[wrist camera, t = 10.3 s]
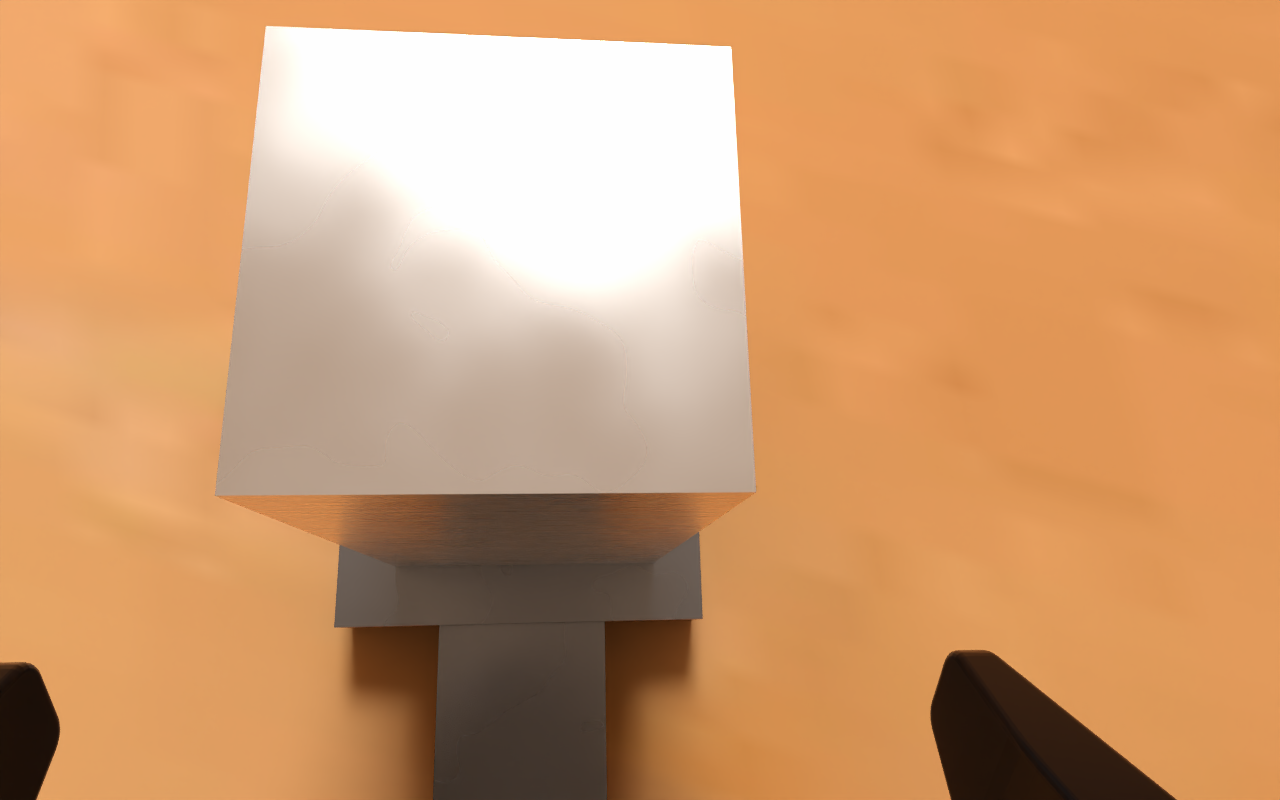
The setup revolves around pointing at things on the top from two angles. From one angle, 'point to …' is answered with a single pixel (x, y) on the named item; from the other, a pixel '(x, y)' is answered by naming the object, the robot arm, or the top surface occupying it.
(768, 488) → the top surface
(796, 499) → the top surface
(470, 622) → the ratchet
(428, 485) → the brushed metal block
